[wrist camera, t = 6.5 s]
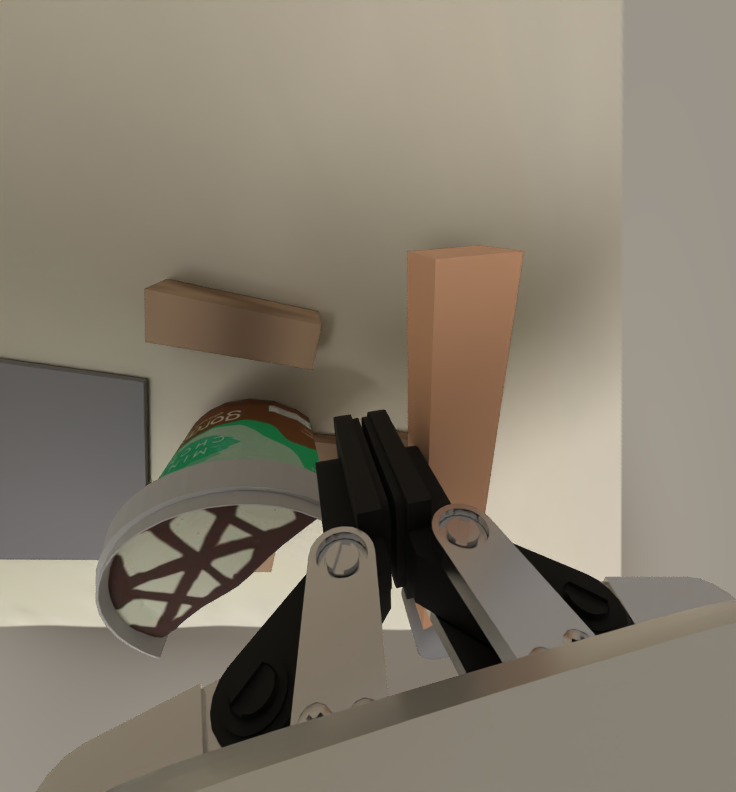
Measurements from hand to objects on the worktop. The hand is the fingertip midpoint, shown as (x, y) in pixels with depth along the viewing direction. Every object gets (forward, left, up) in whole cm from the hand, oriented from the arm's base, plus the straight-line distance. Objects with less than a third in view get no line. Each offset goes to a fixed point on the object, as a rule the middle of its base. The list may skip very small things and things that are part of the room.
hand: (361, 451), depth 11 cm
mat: (-15, -12, -12) cm, 22 cm away
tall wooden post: (+3, -1, -1) cm, 4 cm away
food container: (-5, -8, -12) cm, 15 cm away
